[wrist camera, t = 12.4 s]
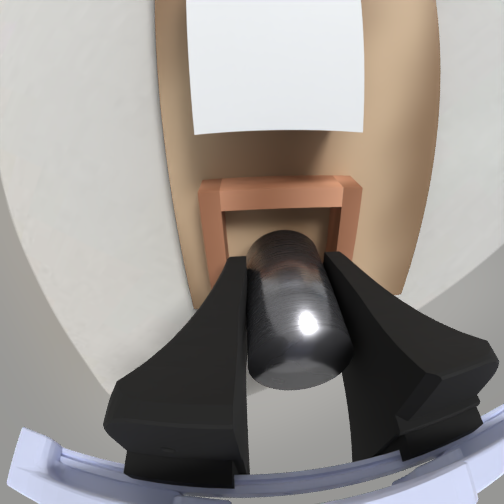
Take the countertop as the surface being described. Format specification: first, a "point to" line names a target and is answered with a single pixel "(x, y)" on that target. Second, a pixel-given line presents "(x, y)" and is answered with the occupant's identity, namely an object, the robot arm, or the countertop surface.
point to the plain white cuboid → (276, 65)
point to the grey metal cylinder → (292, 315)
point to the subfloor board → (310, 157)
